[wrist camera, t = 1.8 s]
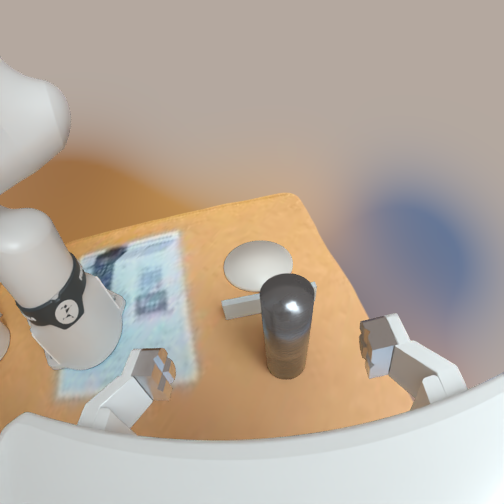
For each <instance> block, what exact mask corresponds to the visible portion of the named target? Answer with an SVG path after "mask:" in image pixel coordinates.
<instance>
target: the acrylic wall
mask: <svg viewBox="0 0 504 504" xmlns="http://www.w3.org/2000/svg"><path fill="white" fill-rule="evenodd" d="M311 285H312V286H313V288H314V293H315V296H314V301H315V297H316V289H317V286H316V284H315V282H311ZM222 307H223V310H224V314H225V317H226V320H228V319H234V318H239V317H244V316H249V315H254V314H259V313H261V304H260V293H259V294H254V295H249V296H244V297H239V298H234V299H229V300H223V301H222Z"/></svg>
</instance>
